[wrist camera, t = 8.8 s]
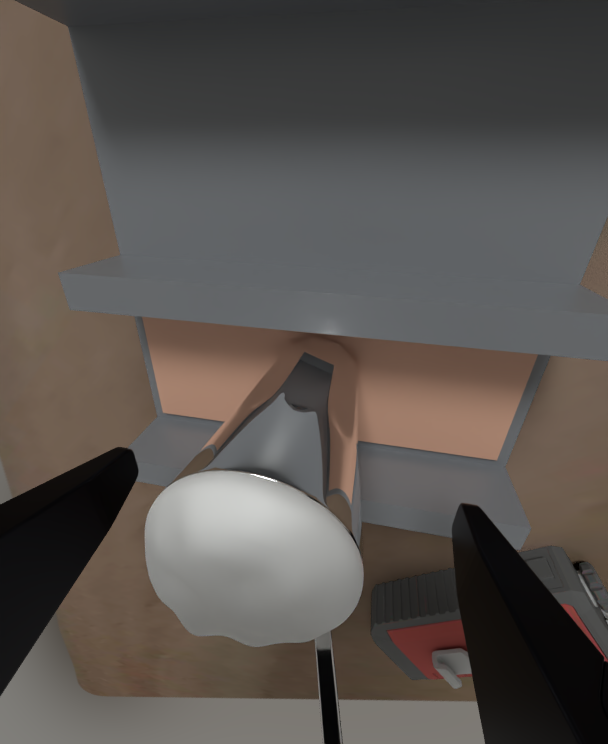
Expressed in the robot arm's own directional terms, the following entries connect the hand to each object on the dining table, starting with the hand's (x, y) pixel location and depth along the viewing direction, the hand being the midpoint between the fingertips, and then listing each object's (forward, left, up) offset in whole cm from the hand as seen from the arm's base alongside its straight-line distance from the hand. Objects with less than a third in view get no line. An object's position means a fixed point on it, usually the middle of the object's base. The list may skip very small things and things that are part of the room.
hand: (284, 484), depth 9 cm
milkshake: (0, 0, -6) cm, 6 cm away
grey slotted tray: (0, -4, -7) cm, 8 cm away
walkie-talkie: (-13, +13, -7) cm, 20 cm away
